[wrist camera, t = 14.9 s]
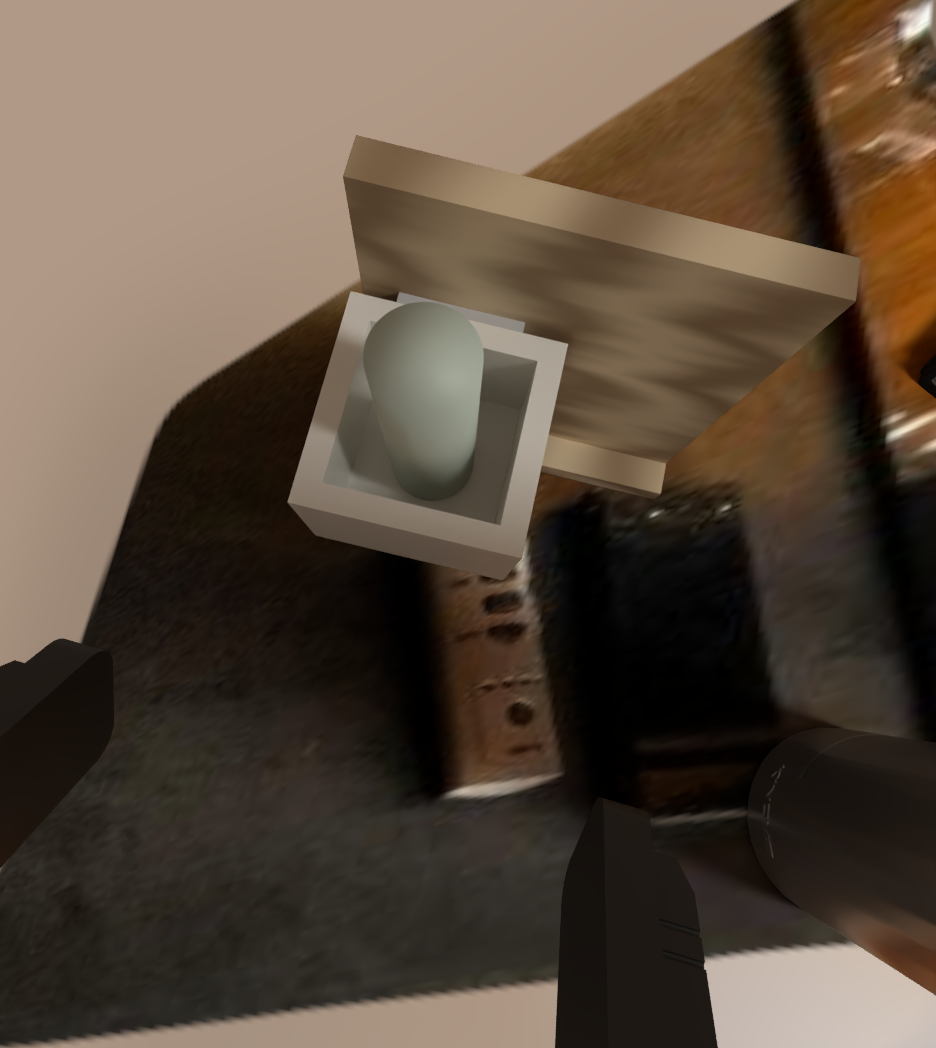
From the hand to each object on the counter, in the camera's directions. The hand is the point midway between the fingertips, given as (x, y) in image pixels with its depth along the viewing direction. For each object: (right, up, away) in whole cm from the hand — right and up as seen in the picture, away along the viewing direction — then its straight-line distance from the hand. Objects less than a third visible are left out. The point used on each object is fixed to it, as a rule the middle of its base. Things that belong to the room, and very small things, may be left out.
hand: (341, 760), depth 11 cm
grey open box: (0, +7, +20) cm, 21 cm away
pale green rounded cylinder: (0, +7, +19) cm, 20 cm away
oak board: (+5, +9, +27) cm, 29 cm away
